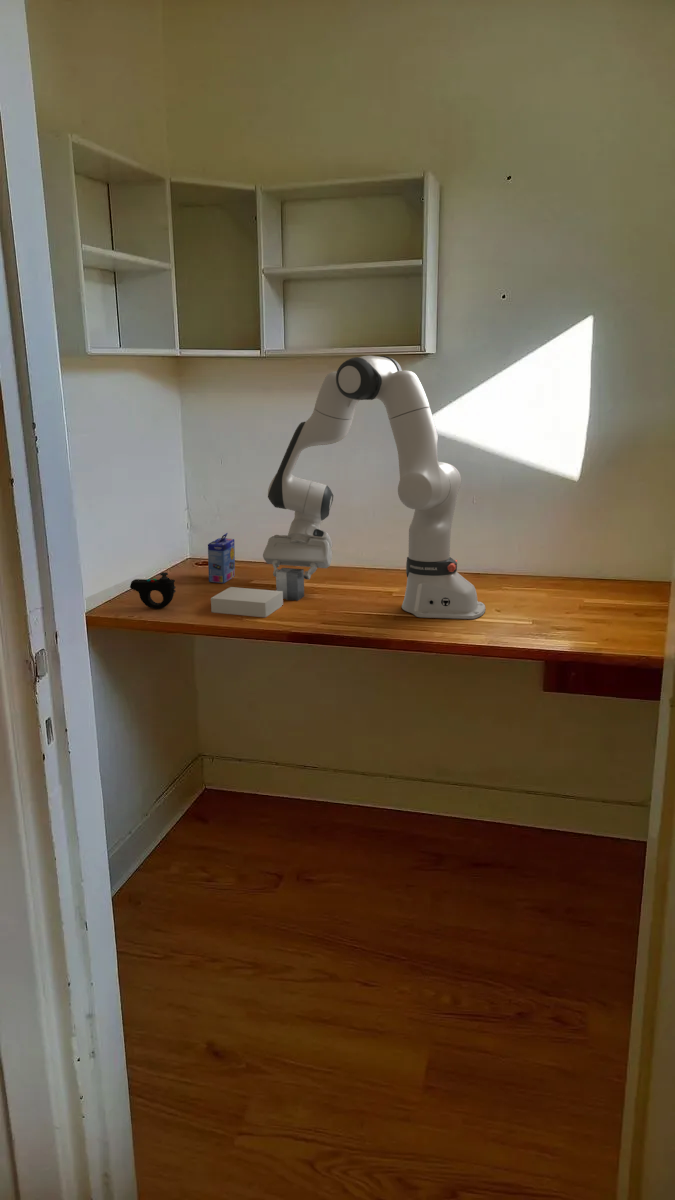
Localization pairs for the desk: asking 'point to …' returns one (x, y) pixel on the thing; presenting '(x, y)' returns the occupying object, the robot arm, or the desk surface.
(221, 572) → the ink cartridge box
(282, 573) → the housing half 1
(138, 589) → the controller
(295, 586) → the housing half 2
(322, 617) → the desk surface
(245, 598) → the stand
